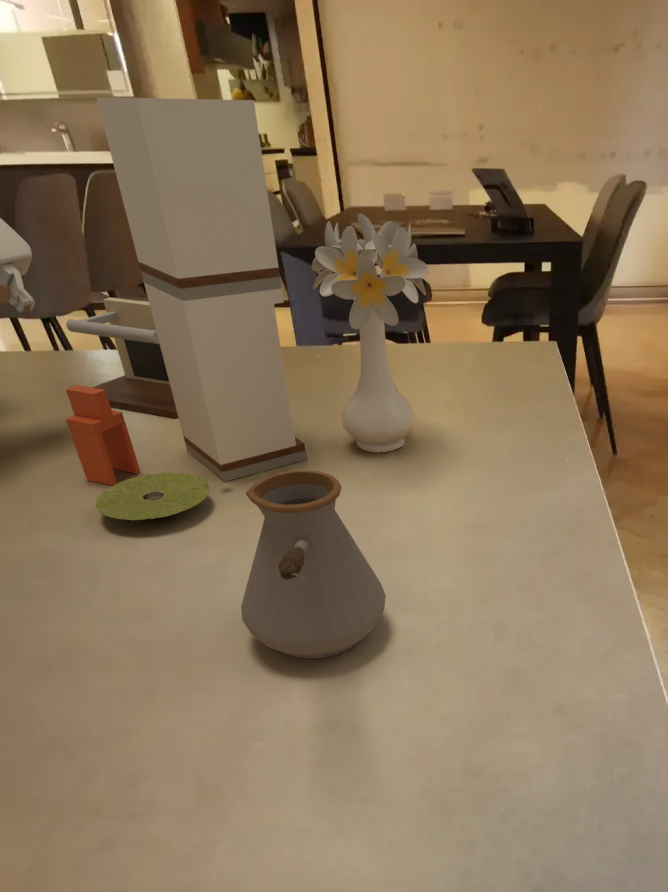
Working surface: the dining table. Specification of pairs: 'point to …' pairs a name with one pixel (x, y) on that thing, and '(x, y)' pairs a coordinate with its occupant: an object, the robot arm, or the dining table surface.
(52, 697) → the dining table surface
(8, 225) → the robot arm
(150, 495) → the mat
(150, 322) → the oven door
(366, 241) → the flower vase
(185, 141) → the white striped pedestal
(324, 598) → the coffee pot
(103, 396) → the clip
